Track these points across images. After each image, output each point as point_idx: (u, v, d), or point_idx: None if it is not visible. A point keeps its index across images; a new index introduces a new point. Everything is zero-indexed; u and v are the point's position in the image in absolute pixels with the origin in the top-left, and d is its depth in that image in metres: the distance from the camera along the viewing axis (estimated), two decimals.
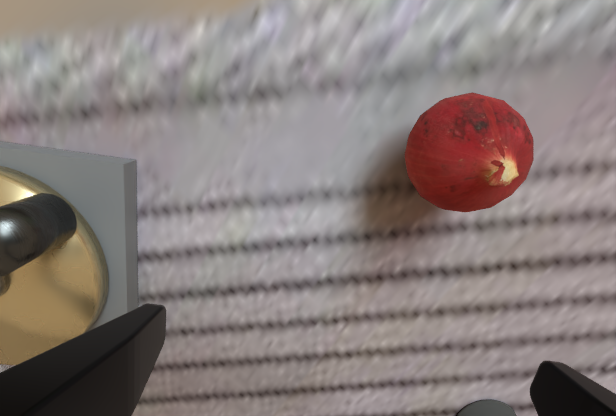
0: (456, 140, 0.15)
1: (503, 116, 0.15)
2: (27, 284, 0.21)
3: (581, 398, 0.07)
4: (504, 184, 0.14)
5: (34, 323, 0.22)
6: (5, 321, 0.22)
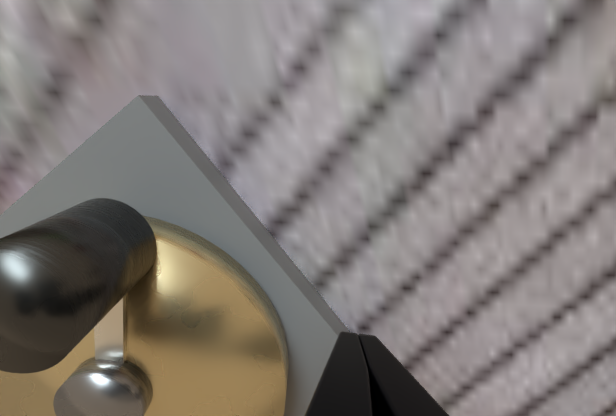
0: None
1: None
2: (165, 360, 0.13)
3: None
4: None
5: (217, 407, 0.13)
6: None
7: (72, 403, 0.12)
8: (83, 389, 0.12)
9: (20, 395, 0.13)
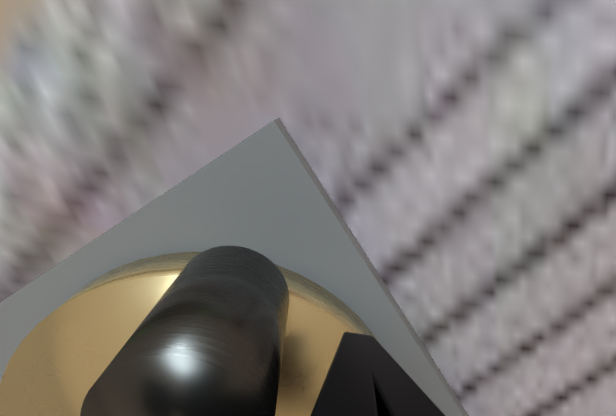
0: None
1: None
2: None
3: None
4: None
5: None
6: None
7: None
8: None
9: None
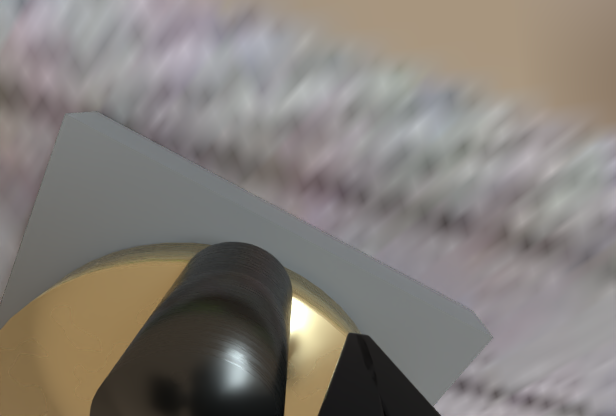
0: None
1: None
2: None
3: None
4: None
5: None
6: None
7: None
8: None
9: None
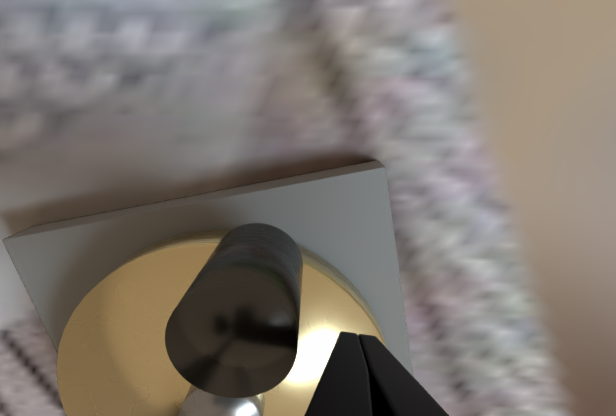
0: None
1: None
2: (284, 378, 0.13)
3: None
4: None
5: None
6: None
7: (197, 414, 0.12)
8: (211, 402, 0.12)
9: (133, 400, 0.13)
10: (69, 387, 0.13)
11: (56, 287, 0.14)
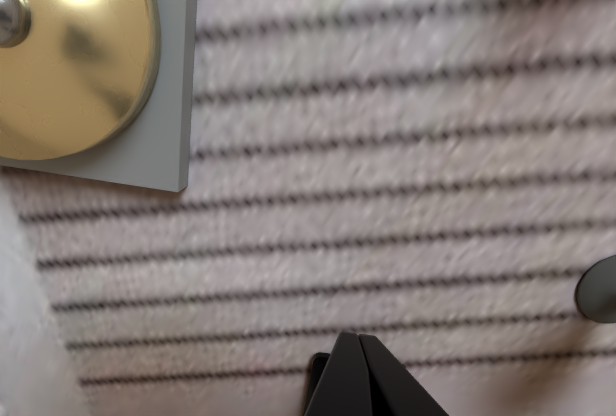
0: None
1: None
2: None
3: None
4: None
5: None
6: None
7: None
8: None
9: None
10: None
11: None
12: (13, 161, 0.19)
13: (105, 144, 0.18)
